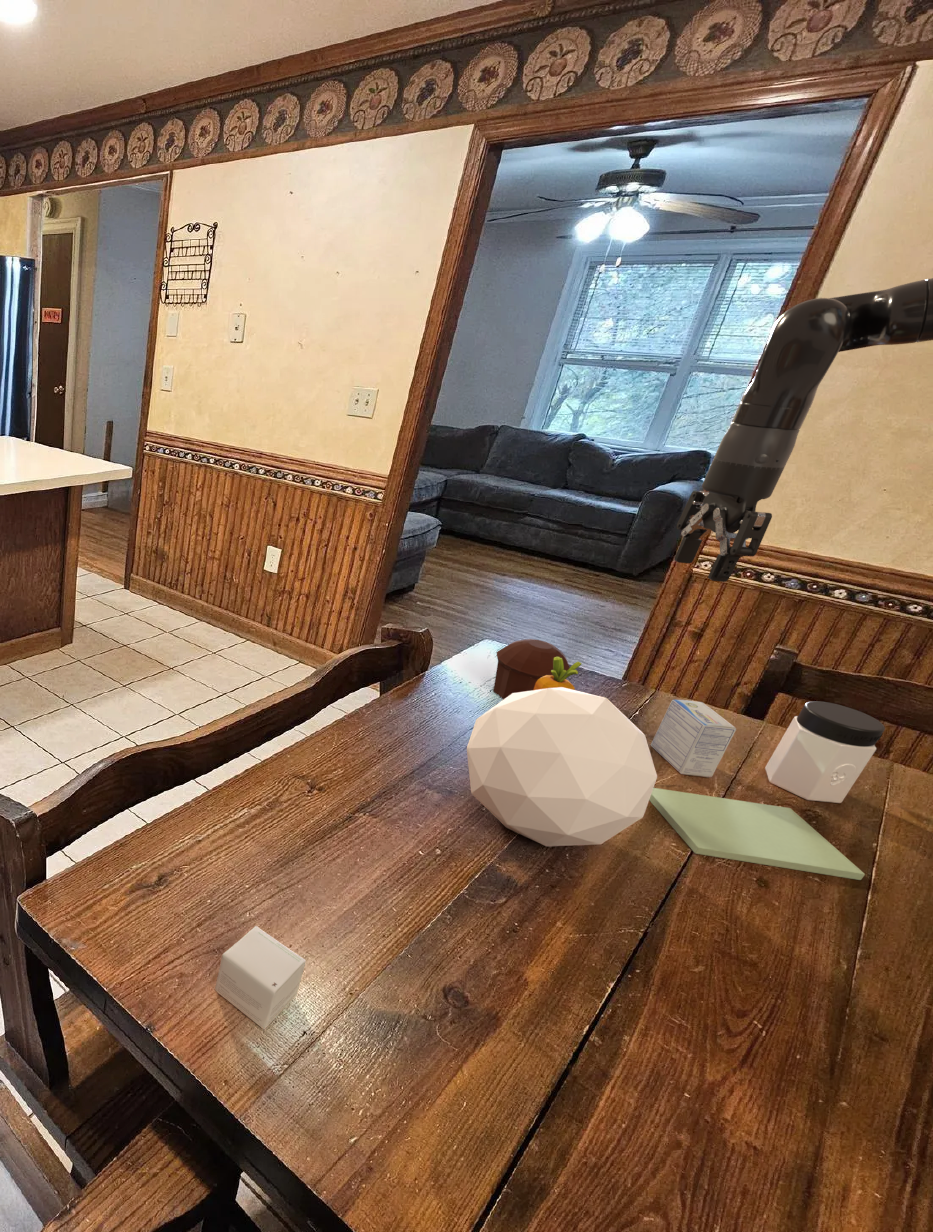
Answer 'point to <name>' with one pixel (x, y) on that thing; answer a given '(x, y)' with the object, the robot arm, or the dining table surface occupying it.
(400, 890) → the dining table surface
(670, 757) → the medicine box
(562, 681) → the carrot
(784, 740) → the jar
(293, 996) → the small box
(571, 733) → the ball
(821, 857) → the mat
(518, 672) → the muffin
